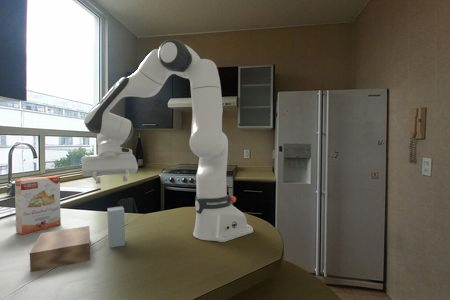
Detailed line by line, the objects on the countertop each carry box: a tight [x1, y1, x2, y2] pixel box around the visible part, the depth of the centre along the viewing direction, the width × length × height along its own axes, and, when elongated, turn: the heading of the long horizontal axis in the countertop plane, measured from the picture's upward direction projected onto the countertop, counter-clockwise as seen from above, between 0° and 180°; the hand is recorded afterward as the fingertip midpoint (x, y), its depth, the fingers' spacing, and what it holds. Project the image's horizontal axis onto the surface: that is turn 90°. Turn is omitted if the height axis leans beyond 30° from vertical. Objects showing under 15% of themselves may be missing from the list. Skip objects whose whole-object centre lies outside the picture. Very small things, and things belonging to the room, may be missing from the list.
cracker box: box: [14, 175, 62, 236], centre depth 103 cm, size 14×6×21 cm, turn 149°
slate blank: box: [106, 205, 126, 249], centre depth 86 cm, size 5×5×12 cm
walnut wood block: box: [29, 225, 91, 273], centre depth 79 cm, size 14×18×5 cm
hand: (112, 181), depth 97 cm, fingers open, 8 cm apart
